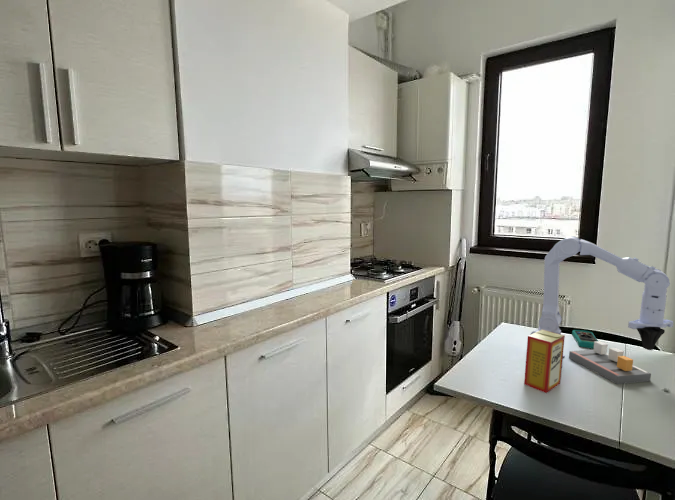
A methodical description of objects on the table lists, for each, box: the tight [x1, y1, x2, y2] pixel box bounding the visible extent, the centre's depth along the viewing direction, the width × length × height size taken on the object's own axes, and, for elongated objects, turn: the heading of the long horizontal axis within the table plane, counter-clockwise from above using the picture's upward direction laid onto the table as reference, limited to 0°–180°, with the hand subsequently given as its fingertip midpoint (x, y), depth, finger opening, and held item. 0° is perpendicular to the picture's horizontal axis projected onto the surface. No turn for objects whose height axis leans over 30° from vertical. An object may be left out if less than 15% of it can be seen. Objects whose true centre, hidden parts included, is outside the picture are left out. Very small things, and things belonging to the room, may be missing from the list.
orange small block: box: [617, 355, 634, 371], centre depth 115 cm, size 2×3×4 cm
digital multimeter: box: [571, 329, 599, 350], centre depth 145 cm, size 7×15×3 cm, turn 157°
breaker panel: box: [568, 340, 652, 385], centre depth 121 cm, size 12×19×6 cm, turn 9°
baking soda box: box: [523, 329, 566, 394], centre depth 110 cm, size 10×6×16 cm
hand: (647, 348), depth 115 cm, fingers closed
